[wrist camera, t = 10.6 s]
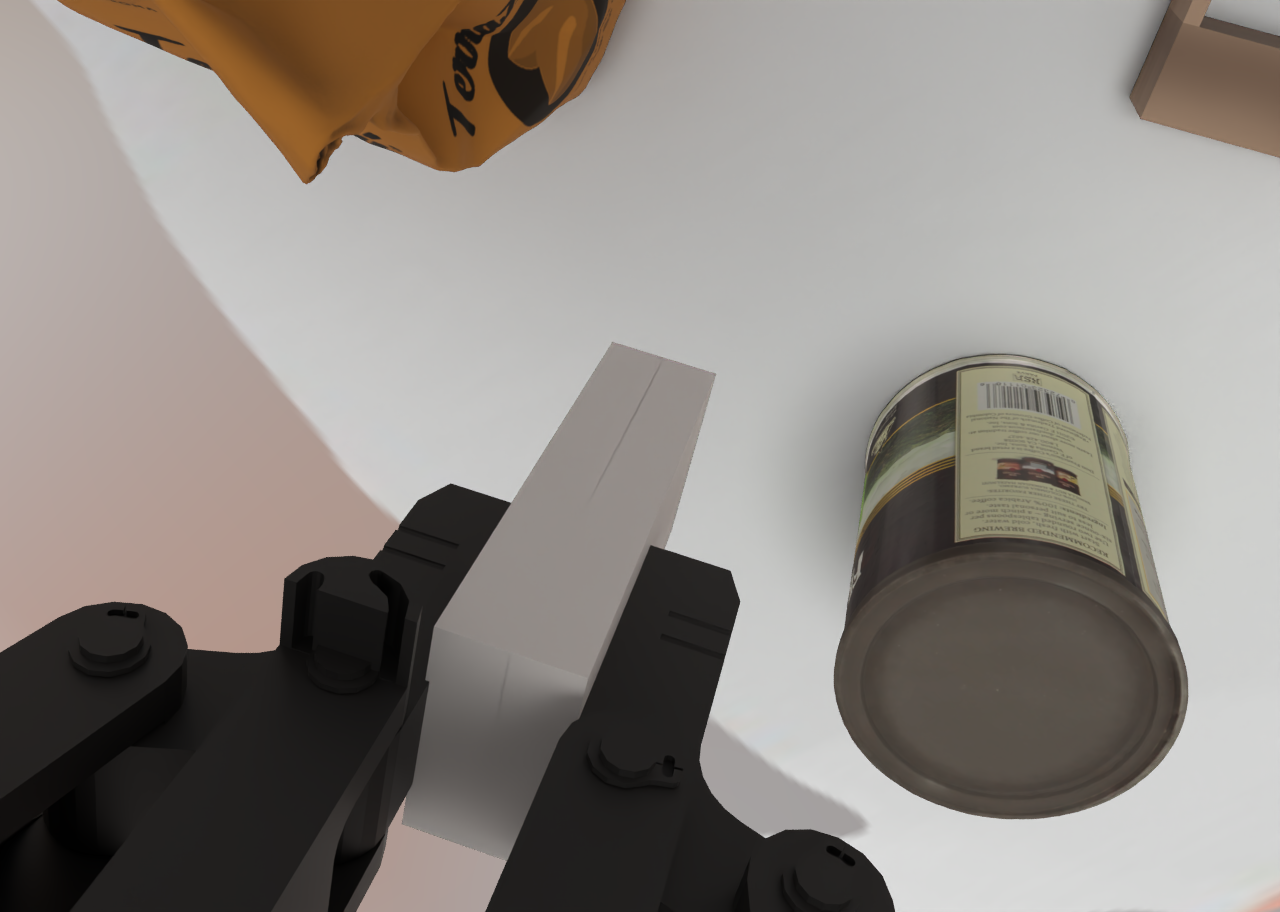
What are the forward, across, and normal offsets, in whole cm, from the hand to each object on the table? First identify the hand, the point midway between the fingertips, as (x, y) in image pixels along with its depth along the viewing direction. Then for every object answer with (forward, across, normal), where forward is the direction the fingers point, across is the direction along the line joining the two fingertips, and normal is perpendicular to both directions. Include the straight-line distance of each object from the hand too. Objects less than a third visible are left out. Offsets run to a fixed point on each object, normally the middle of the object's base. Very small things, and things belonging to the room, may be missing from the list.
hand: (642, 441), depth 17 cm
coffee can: (+30, +11, -14) cm, 35 cm away
